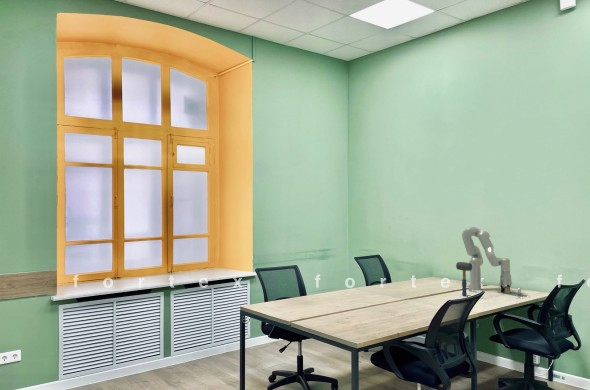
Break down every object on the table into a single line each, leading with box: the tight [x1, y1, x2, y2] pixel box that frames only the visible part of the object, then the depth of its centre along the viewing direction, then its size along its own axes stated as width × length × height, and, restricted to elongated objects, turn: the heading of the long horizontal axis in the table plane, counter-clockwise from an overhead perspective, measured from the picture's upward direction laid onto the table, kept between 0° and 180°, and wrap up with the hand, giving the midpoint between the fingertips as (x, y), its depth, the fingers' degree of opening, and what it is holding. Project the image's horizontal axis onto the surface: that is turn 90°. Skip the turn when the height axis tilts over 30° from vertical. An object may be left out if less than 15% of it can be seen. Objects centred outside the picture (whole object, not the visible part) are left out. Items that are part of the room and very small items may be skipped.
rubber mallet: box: [455, 261, 472, 297], centre depth 398 cm, size 12×8×30 cm, turn 41°
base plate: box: [497, 291, 529, 298], centre depth 399 cm, size 24×12×2 cm, turn 27°
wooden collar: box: [500, 285, 511, 294], centre depth 405 cm, size 8×7×5 cm
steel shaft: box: [517, 287, 522, 296], centre depth 393 cm, size 2×2×6 cm
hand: (505, 291), depth 405 cm, fingers closed on wooden collar, 7 cm apart
